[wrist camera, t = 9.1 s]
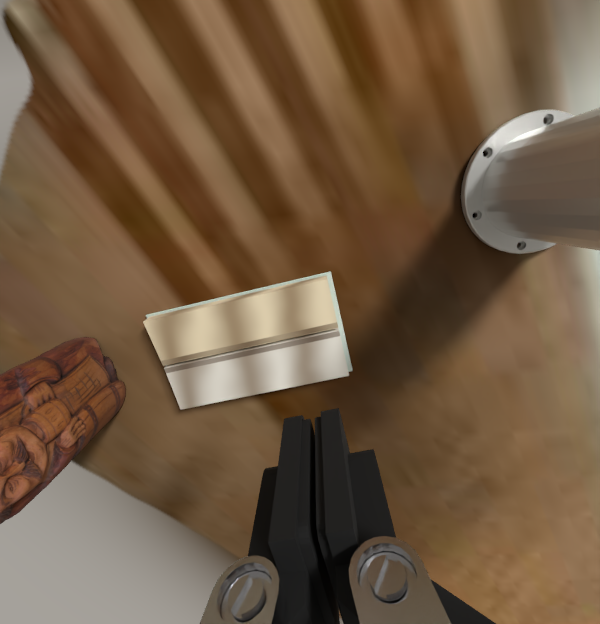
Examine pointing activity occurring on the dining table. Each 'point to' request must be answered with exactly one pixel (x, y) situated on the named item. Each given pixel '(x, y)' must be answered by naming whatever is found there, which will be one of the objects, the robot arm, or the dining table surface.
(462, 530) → the dining table surface
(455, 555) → the dining table surface
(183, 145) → the dining table surface
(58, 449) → the wooden figurine
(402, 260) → the dining table surface
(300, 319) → the plank
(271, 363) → the laid board
